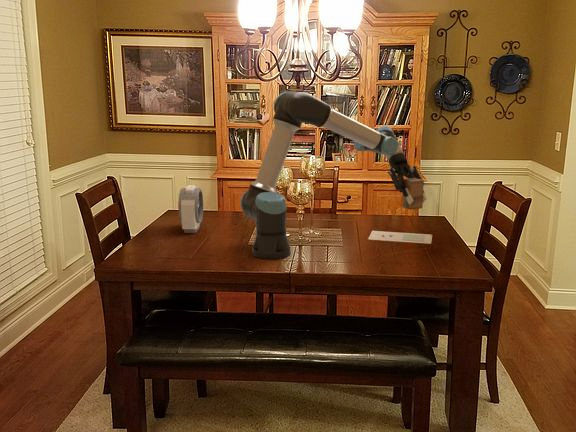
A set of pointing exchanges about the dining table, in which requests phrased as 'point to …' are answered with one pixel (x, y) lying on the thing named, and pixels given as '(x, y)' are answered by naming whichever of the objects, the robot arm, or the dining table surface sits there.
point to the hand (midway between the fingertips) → (417, 201)
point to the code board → (400, 237)
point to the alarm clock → (190, 208)
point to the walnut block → (414, 193)
